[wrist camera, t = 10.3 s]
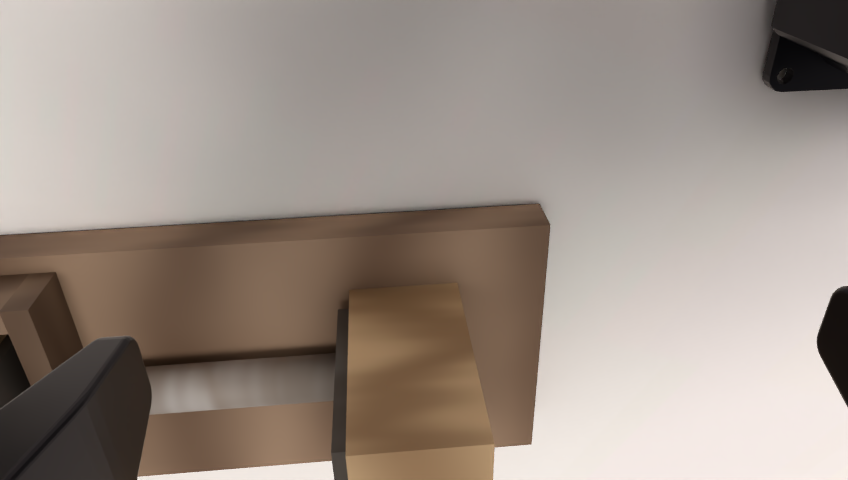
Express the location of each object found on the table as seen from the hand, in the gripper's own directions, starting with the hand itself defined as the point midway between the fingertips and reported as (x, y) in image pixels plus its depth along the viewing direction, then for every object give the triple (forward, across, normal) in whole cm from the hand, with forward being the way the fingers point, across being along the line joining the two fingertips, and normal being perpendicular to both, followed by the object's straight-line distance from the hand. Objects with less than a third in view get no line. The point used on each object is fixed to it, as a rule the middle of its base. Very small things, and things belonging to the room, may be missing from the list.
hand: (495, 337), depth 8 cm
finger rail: (+13, +8, +10) cm, 18 cm away
